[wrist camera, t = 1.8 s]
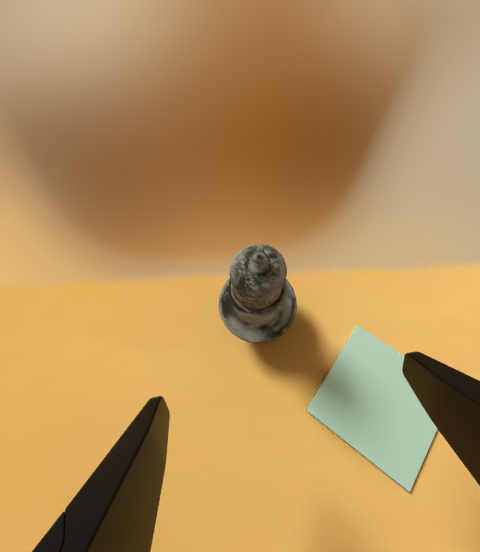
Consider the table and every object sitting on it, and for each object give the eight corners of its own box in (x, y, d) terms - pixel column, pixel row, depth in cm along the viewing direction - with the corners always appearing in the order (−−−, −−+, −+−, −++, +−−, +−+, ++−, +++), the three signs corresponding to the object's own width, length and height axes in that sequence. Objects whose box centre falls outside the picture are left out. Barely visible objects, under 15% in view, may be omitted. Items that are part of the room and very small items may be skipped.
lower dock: (451, 388, 18) (455, 388, 18) (407, 490, 16) (409, 492, 16) (356, 325, 20) (357, 325, 20) (306, 410, 18) (306, 410, 18)
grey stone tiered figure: (304, 318, 21) (360, 266, 10) (250, 360, 20) (244, 357, 9) (262, 269, 23) (269, 176, 11) (211, 305, 22) (164, 244, 11)
